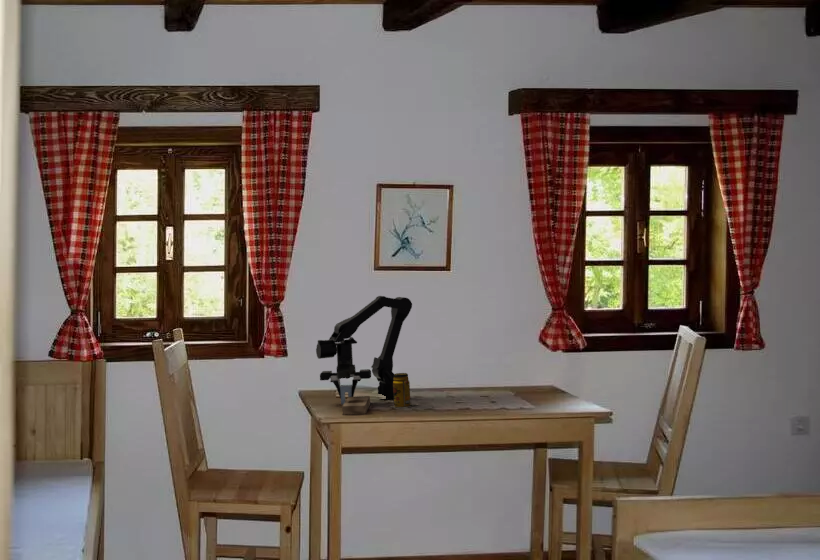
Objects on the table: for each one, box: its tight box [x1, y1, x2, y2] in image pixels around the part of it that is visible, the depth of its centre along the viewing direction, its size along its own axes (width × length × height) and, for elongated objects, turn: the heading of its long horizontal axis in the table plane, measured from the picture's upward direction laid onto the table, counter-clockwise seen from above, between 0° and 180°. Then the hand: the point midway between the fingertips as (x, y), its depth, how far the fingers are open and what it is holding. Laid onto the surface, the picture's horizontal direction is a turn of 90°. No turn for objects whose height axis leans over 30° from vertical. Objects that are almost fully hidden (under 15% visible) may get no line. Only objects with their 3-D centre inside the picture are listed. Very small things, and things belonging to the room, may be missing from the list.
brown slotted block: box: [341, 395, 371, 415], centre depth 378 cm, size 8×20×3 cm, turn 177°
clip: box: [340, 384, 352, 405], centre depth 392 cm, size 4×4×7 cm
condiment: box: [390, 372, 419, 409], centre depth 380 cm, size 7×8×12 cm
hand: (346, 397), depth 392 cm, fingers closed on clip, 4 cm apart
